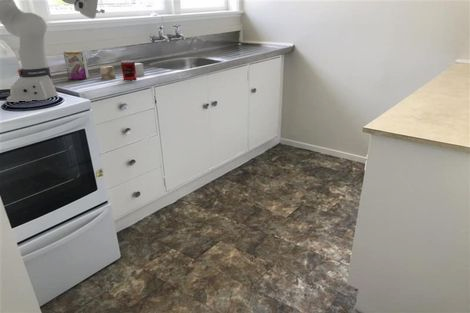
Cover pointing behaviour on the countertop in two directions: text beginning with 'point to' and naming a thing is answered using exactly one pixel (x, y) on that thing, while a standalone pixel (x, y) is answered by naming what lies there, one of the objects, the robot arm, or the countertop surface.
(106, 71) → the birch block
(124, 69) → the canned food
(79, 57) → the candy bar box
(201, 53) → the countertop surface
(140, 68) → the grey plastic block
